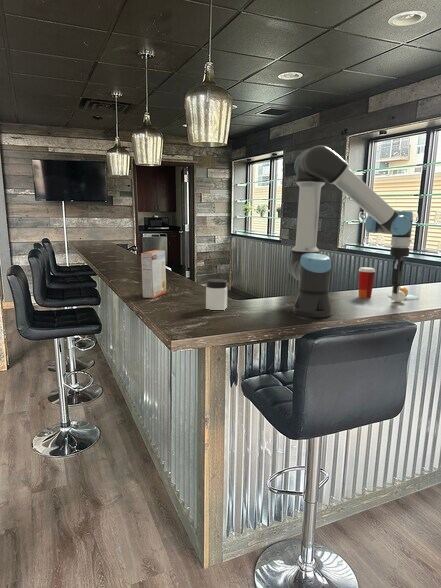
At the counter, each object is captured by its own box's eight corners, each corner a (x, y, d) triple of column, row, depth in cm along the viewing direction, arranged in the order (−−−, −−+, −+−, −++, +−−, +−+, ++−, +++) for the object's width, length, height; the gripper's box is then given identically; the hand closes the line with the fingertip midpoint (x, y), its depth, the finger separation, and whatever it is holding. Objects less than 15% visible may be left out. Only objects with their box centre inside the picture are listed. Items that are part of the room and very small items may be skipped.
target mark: (384, 297, 198) (384, 297, 198) (390, 292, 209) (390, 292, 209) (416, 301, 190) (416, 300, 190) (420, 296, 202) (420, 295, 202)
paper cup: (370, 295, 201) (373, 267, 199) (375, 299, 194) (377, 269, 191) (354, 295, 202) (356, 266, 199) (357, 298, 195) (360, 269, 192)
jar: (224, 306, 176) (224, 278, 173) (229, 310, 168) (230, 281, 165) (203, 307, 173) (204, 279, 171) (208, 311, 166) (208, 282, 163)
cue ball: (394, 287, 190) (393, 298, 192) (390, 292, 186) (389, 303, 188) (407, 289, 186) (406, 300, 189) (403, 294, 183) (402, 305, 185)
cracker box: (155, 292, 203) (154, 249, 199) (166, 293, 201) (166, 250, 197) (141, 297, 190) (140, 252, 186) (153, 298, 188) (152, 252, 184)
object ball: (395, 285, 196) (397, 287, 200) (393, 296, 195) (395, 298, 200) (408, 286, 193) (409, 288, 198) (406, 297, 192) (407, 299, 197)
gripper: (406, 248, 171) (401, 304, 176) (412, 246, 182) (406, 298, 186) (387, 247, 175) (382, 301, 180) (394, 245, 186) (388, 296, 190)
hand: (394, 300), depth 183 cm, fingers closed
